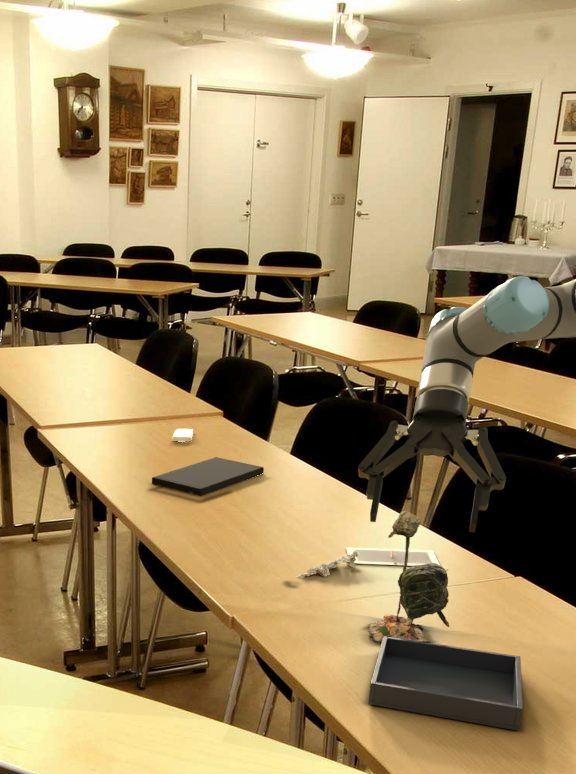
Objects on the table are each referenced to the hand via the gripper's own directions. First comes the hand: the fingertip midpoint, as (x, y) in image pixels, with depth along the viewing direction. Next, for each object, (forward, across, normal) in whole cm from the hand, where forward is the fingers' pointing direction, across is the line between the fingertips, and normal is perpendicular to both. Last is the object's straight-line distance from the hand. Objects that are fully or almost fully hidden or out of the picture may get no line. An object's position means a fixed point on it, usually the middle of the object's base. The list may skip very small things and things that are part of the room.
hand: (421, 522), depth 132 cm
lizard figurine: (+1, +15, -21) cm, 26 cm away
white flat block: (-53, +64, -75) cm, 112 cm away
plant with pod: (+16, 0, -7) cm, 17 cm away
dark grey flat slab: (-34, +49, -56) cm, 82 cm away
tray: (+26, -6, +4) cm, 27 cm away
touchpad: (-7, +5, -30) cm, 31 cm away
